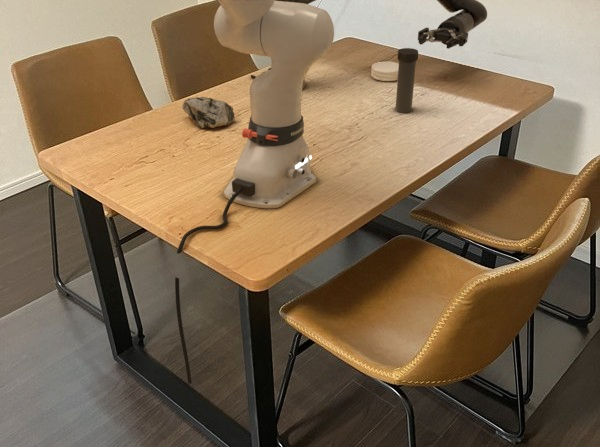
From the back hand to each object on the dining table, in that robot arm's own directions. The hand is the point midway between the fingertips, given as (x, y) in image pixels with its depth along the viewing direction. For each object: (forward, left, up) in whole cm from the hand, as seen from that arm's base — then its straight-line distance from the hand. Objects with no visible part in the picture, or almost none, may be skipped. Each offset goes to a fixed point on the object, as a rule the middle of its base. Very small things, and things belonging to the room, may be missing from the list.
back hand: (434, 43), depth 182 cm
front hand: (-13, -40, +34) cm, 54 cm away
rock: (-44, -53, -14) cm, 70 cm away
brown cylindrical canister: (0, -19, -14) cm, 24 cm away
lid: (0, -19, +2) cm, 19 cm away
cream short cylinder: (-16, +4, -14) cm, 22 cm away
